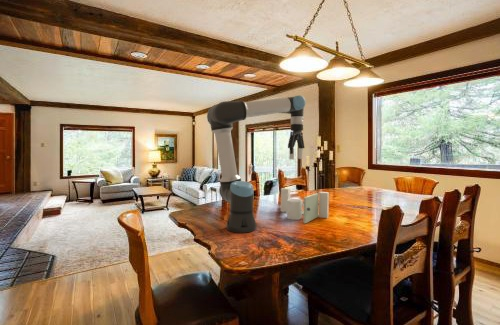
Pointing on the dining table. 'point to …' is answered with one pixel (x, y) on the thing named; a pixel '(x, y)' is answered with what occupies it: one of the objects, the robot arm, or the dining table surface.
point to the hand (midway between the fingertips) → (296, 159)
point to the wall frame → (322, 202)
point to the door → (310, 207)
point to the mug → (294, 209)
